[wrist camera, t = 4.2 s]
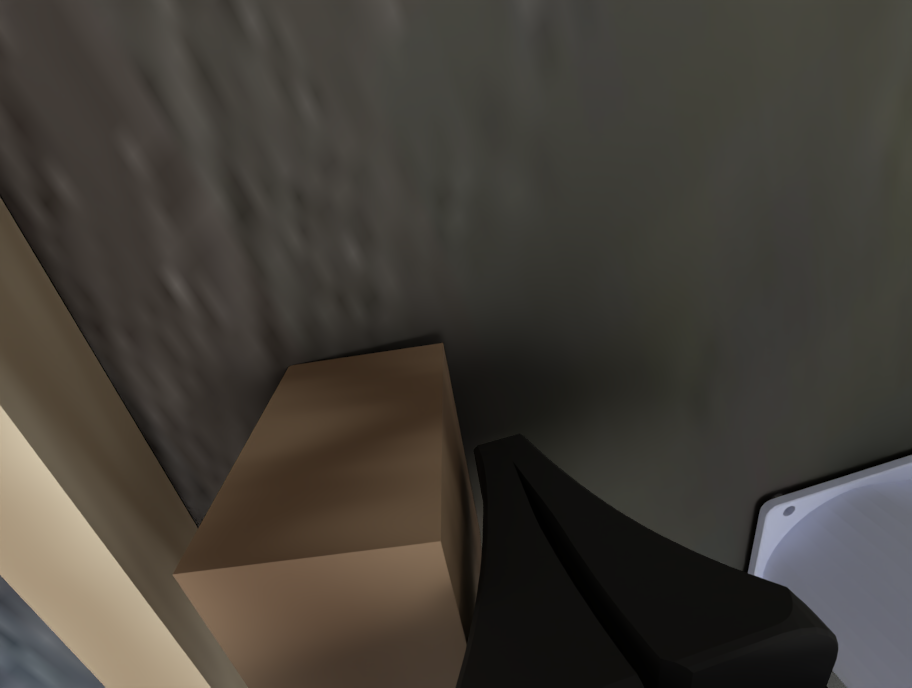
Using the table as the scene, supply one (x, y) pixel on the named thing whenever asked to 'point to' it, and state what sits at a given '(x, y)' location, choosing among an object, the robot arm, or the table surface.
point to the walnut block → (345, 531)
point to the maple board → (89, 500)
